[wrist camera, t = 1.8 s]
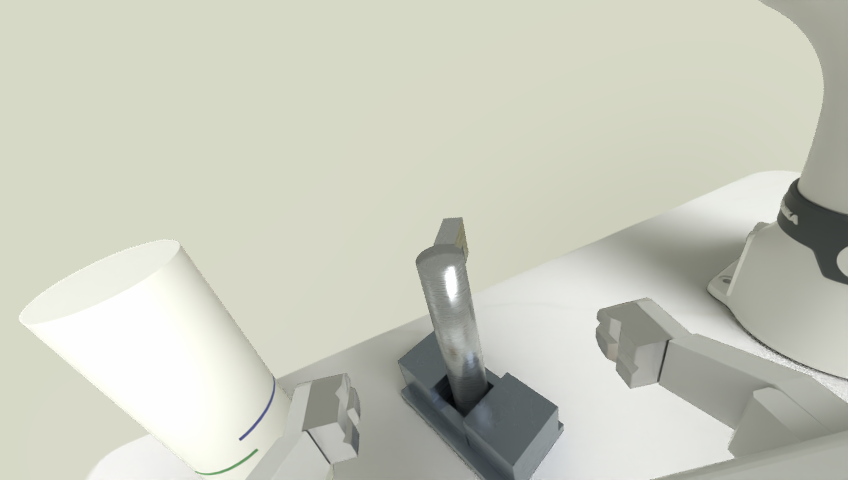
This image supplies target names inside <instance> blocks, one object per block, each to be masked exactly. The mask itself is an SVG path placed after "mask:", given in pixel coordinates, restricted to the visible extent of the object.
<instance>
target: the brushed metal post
mask: <svg viewBox="0 0 848 480" xmlns="http://www.w3.org/2000/svg"><path fill="white" fill-rule="evenodd" d="M467 257H468V248H467V242H466V236H465V231H464V225H463V219H462V217H460V218H448V219H443V222H442V224H441V227H440V230H439V232H438V235H437V237H436V240H435V243H434V246H433V247H430V248H428V249H426V250H424V251H423V252H421V253H420V254H419V256H418V257H417V259H416V266H417V270H418V273H419V277H420V280H421V284H422V287H423V291H424V294H425V298H426V301H427V305H428V309H429V312H430V316H431V319H432V323H433V326H434V330H435V334H436V337H437V341H438V344H439V348H440V351H441V355H442V358H443V362H444V366H445V369H446V373H447V376H448V380H449V383H450V387H451V390H452V394H453V398H454V401H455V405H456V408H457V412H458V413H459V414H460V415H462V416H463V417H464V418H465V417H466V416H467V415H468V414H469V413H470V412H471V411H472V410H473V409H474V408H475V406H476V405H477V404H478V403H479V402H480V401H481V400H482V399H483V398H484V397H485V396H486V395H487V393H488V392H489V389H488V383H487V378H486V373H485V367H484V362H483V357H482V351H481V346H480V341H479V335H478V330H477V325H476V319H475V314H474V309H473V303H472V298H471V293H470V288H469V282H468V276H467V271H466V266H465V263H466V261H467Z"/></svg>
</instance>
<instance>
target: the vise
mask: <svg viewBox="0 0 848 480" xmlns="http://www.w3.org/2000/svg"><path fill="white" fill-rule="evenodd" d="M398 363H399V366H400V368H401V371H402V373H403V376H404V379H405V381H406V384H407V385H408V386H407V387H405V388H404V389H403V390H402V391H401V394H402V397H403V398H404V399H405V400H406V401H407V402H408V403H409V404H410V406H411V407H412V408H413V409H414V410H415V411H416V412H417V413H418V414H419V415H420V416H421V417H422V418H423V419H424V420H425V421H426V422H427V423H428V424H429V425H430V426H431V427H432V428H433V429H434V430H435V431H436V432H437V434H438V435H439V436H440V437H441V438H442V439H443V440H444V441H445V442H446V443H447V444H448V445H449V446H450V447H451V448H452V449H453V450H454V451H455V452H456V453H457V454H458V455H459V456H460V457H461V458H462V459H463V460H464V462H465V463H466V464H467V465H468V466H469V467H470V468H471V469H472V470H473V471H474V472H475V473H476V474H477V475H478V476H479V477H480V478H481V479H482V480H529V478H530V477H531V476H532V474H533V473H534V471H535V470H536V468H537V467H538V466H539V464H540V463H541V461H542V460H543V459H544V457H545V456H546V454H547V453H548V452H549V450H550V449H551V447H552V446H553V445H554V443H555V442H556V440H557V439H558V438H559V436H560V435H561V433H562V432H563V424H562V423H561V422H559V421H558V407H557V406H556V405H554V404H553V403H552V402H550V401H549V400H547V399H546V398H544V397H543V396H541V395H540V394H538V393H537V392H535V391H534V390H532V389H531V388H530V387H528V386H527V385H525V384H524V383H522V382H521V381H519V380H518V379H516V378H515V377H513V376H512V375H510V374H509V373H506V374H505V375H504V376H503V377H502V378H499V377H498V376H496V375H495V374H493V373H492V372H491V371H489V370H488V369H486V368H485V373H486V378H487V383H488V389H489V392H488V393H487V395H486V396H485V397H484V398H483V399H482V400H481V401H480V402H479V403H478V404H477V405H476V406H475V408H474V409H473V410H472V411H471V412H470V413H469V414H468V415H467V416H466V417H465V418H464V417H463V416H462V415H460V414H459V413H458V412H457V408H456V405H455V401H454V398H453V394H452V390H451V387H450V383H449V380H448V376H447V373H446V369H445V366H444V362H443V358H442V355H441V351H440V348H439V344H438V341H437V337H436V334H435V330H434V331H433V332H432V333H431V334H430V335H428V336H427V337H426V338H425V339H424V340H422V341H421V342H420V343H419V344H418V345H416V346H415V347H414V348H413V349H412V350H410V351H409V352H408V353H407V354H406V355H404V356H403V357H402V358H401V359H400V360H399V361H398Z"/></svg>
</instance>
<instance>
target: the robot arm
mask: <svg viewBox="0 0 848 480" xmlns="http://www.w3.org/2000/svg"><path fill="white" fill-rule="evenodd" d="M760 1H761V2H762V3H764V4H765V5H767V6H769V7H771V8H773V9H775V10H777V11H778V12H780V13H781V14H783V15H785V16H786V17H787V18H789V19H790V20H791V21H793V22H794V23H795V24H796V25H797V26H798V27H799V28H800V29H801V30H802V31H803V33H804V34H805V35H806V36H807V38H808V39H809V41H810V42H811V43H812V45H813V47H814V49H815V51H816V53H817V56H818V58H819V61H820V64H821V68H822V72H823V79H824V96H823V104H822V109H821V113H820V117H819V121H818V125H817V129H816V132H815V136H814V139H813V143H812V146H811V149H810V152H809V155H808V158H807V161H806V163H805V166H804V169H803V171H802V174H801V177H800V178H798V179H796V180H795V181H794V182H793V183H792V184H791V185H790V187H789V189H788V192H787V193H786V194H785V195H784V197H783V199H782V202H781V206H780V207H781V208H780V211H779V214H778V216H777V221H775V222H773V223H771V224H768V223H764V222H759V223H757V225H756V226H755V227H754V229H753V231H751V232H750V234H749V235H748V237H747V240H746V245H745V247H744V250H743V252H742V255H741V256H740V257H739V258H738V259H737V260H735V261H734V262H733V263H732V264H730V265H729V266H728V267H727V268H725V269H724V270H723V271H722V272H721V273H719V274H718V275H717V276H716V277H714V278H713V279H712V280H711V281H710V282H709V284H708V286H707V290H708V292H709V293H710V294H712V295H713V296H714V297H715V298H717V299H718V300H720V301H721V302H722V303H724V304H725V305H727V306H728V307H729V308H730V310H731V311H732V312H733V314H734V315H735V317H736V318H737V320H738V321H739V322H740V323H741V325H742V326H743V327H744V328H745V329H746V330H747V331H749V332H750V333H751V334H752V335H753V336H755V337H756V338H757V339H759V340H760V341H761V342H763V343H764V344H766V345H767V346H769V347H771V348H772V349H774V350H776V351H777V352H779V353H781V354H783V355H785V356H787V357H789V358H791V359H793V360H795V361H797V362H800V363H802V364H804V365H807V366H809V367H812V368H814V369H817V370H820V371H823V372H826V373H829V374H832V375H835V376H839V377H842V378H846V379H848V0H760ZM597 320H598V321H599V322H600V324H599V326H598V327H597V328H596V339H597V342H598V345H599V347H600V349H601V351H602V352H603V354H604V355H605V357H606V358H607V359H609V360H611V361H613V362H615V363H616V371H617V372H618V374H619V375H620V376H621V378H622V379H623V380H624V381H625V383H626V384H627V385H628V387H629V388H630V389H632V388H636V387H641V386H645V385H650V384H654V383H659V385H661V386H662V387H664V388H666V389H667V390H669V391H671V392H672V393H674V394H676V395H677V396H679V397H681V398H682V399H684V400H686V401H687V402H689V403H691V404H692V405H694V406H696V407H697V408H699V409H701V410H702V411H704V412H706V413H707V414H709V415H711V416H712V417H714V418H716V419H717V420H719V421H721V422H722V423H724V424H726V425H727V426H729V427H730V428H732V429H734V430H735V431H734V433H733V435H732V437H731V439H730V441H729V443H728V450H729V451H730V452H731V453H732V454H733V456H734V457H735V459H731V460H727V461H723V462H719V463H715V464H711V465H707V466H703V467H699V468H695V469H691V470H687V471H683V472H679V473H675V474H671V475H667V476H663V477H659V478H655V479H651V480H848V403H846V402H845V401H844V400H842V399H841V398H840V397H838V396H837V395H835V394H834V393H833V392H831V391H830V390H829V389H827V388H826V387H825V386H823V385H822V384H821V383H819V382H818V381H817V380H815V379H814V378H812V377H811V376H809V375H807V374H804V373H801V372H799V371H796V370H793V369H791V368H788V367H785V366H783V365H780V364H777V363H775V362H772V361H769V360H767V359H764V358H761V357H759V356H756V355H753V354H751V353H748V352H745V351H743V350H740V349H737V348H735V347H732V346H729V345H727V344H724V343H721V342H718V341H716V340H713V339H710V338H708V337H705V336H702V335H700V334H691V333H690V332H689V331H687V330H686V329H685V328H684V327H683V326H682V325H680V324H679V323H678V322H677V321H676V320H675V319H674V318H672V317H671V316H670V315H669V314H668V313H667V312H666V311H664V310H663V309H662V308H661V307H660V306H659V305H658V304H656V303H655V302H654V301H653V300H652V299H650V298H643V299H639V300H635V301H631V302H626V303H622V304H618V305H615V306H611V307H607V308H603V309H599V311H598V312H597ZM359 420H360V404H359V398H358V395H357V392H356V390H355V389H354V388H352V387H350V379H349V377H348V375H347V373H346V374H340V375H335V376H331V377H326V378H322V379H317V380H313V381H309V382H305V383H301V384H298V385H297V387H296V388H295V390H294V394H293V398H292V402H291V406H290V410H289V414H288V418H287V422H286V426H285V430H284V434H283V437H280V438H277V440H276V441H275V442H274V444H273V445H272V446H271V447H270V449H269V450H268V451H267V452H266V454H265V455H264V456H263V458H262V459H261V460H260V461H259V463H258V464H257V465H256V466H255V468H254V469H253V470H252V472H251V473H250V474H249V475H248V477H247V478H246V479H245V480H324V478H325V476H326V475H327V473H328V471H329V469H330V467H331V466H330V464H334V463H338V462H341V461H345V460H348V459H352V458H355V457H358V448H359V433H358V431H357V429H356V425H357V424H358V422H359Z"/></svg>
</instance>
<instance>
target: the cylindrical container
mask: <svg viewBox="0 0 848 480" xmlns="http://www.w3.org/2000/svg"><path fill="white" fill-rule="evenodd" d="M19 321H20V322H21V323H22V324H23V325H24V326H25V327H27V328H28V329H29V330H30V331H31V332H32V333H34V334H35V335H36V336H37V337H38V338H40V339H41V340H42V341H43V342H44V343H45V344H46V345H48V346H49V347H50V348H51V349H52V350H53V351H55V352H56V353H57V354H58V355H59V356H60V357H62V358H63V359H64V360H65V361H67V362H68V363H69V364H70V365H71V366H72V367H73V368H74V369H76V370H77V371H78V372H79V373H80V374H81V375H83V376H84V377H85V378H86V379H88V380H89V381H90V382H91V383H92V384H93V385H94V386H96V387H97V388H98V389H99V390H100V391H101V392H103V393H104V394H105V395H106V396H107V397H108V398H110V399H111V400H112V401H113V402H114V403H116V404H117V405H118V406H119V407H120V408H121V409H122V410H124V411H125V412H126V413H127V414H128V415H129V416H131V417H132V418H133V419H134V420H135V421H137V422H138V423H139V424H140V425H141V426H142V427H143V428H145V429H146V430H147V431H148V432H149V433H150V434H152V435H153V436H154V437H155V438H156V439H157V440H159V441H160V442H161V443H162V444H163V445H164V446H166V447H167V448H168V449H169V450H170V451H171V452H173V453H174V454H175V455H176V456H177V457H178V458H180V459H181V460H182V461H183V462H184V463H186V464H187V465H188V466H189V467H190V468H192V469H193V470H194V471H195V472H196V473H197V474H198V475H200V476H201V477H202V478H203V479H204V480H245V479H246V478H247V477H248V475H249V474H250V473H251V472H252V470H253V469H254V468H255V466H256V465H257V464H258V463H259V461H260V460H261V459H262V458H263V456H264V455H265V454H266V452H267V451H268V450H269V449H270V447H271V446H272V445H273V444H274V442H275V441H276V440H277V438H280V437H283V434H284V430H285V426H286V422H287V418H288V414H289V410H290V406H291V400H290V399H289V398H288V396H287V395H286V393H285V392H284V390H283V389H282V388H281V386H280V385H279V383H278V382H277V381H276V379H275V378H274V376H273V375H272V374H271V372H270V371H269V369H268V368H267V366H266V365H265V364H264V362H263V361H262V359H261V358H260V357H259V355H258V354H257V352H256V351H255V349H254V348H253V347H252V345H251V344H250V343H249V341H248V339H247V338H246V337H245V335H244V334H243V332H242V331H241V329H240V328H239V327H238V325H237V324H236V322H235V321H234V320H233V318H232V317H231V315H230V314H229V313H228V311H227V310H226V308H225V307H224V306H223V304H222V302H221V301H220V300H219V298H218V297H217V296H216V294H215V293H214V291H213V290H212V288H211V287H210V286H209V284H208V283H207V281H206V280H205V278H204V277H203V276H202V274H201V273H200V271H199V270H198V269H197V267H196V266H195V264H194V263H193V262H192V260H191V259H190V257H189V256H188V255H187V253H186V252H185V250H184V249H183V247H182V246H181V245H180V243H179V242H178V241H176V240H171V239H166V240H158V241H152V242H148V243H144V244H141V245H138V246H134V247H131V248H128V249H126V250H123V251H120V252H118V253H115V254H113V255H111V256H108V257H106V258H103V259H101V260H99V261H97V262H95V263H92V264H90V265H88V266H86V267H84V268H82V269H80V270H78V271H76V272H75V273H73V274H71V275H69V276H68V277H66V278H64V279H62V280H61V281H59V282H58V283H56V284H54V285H53V286H51V287H50V288H48V289H47V290H45V291H44V292H43V293H41V294H40V295H38V296H37V297H36V298H35V299H34V300H32V301H31V302H30V303H29V304H28V305H27V306H26V307H25V308H24V309H23V310H22V312H21V314H20V316H19ZM330 466H331V467H330V469H329V471H328V473H327V475H326V476H325V478H324V480H333V476H334V470H333V464H330Z"/></svg>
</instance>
